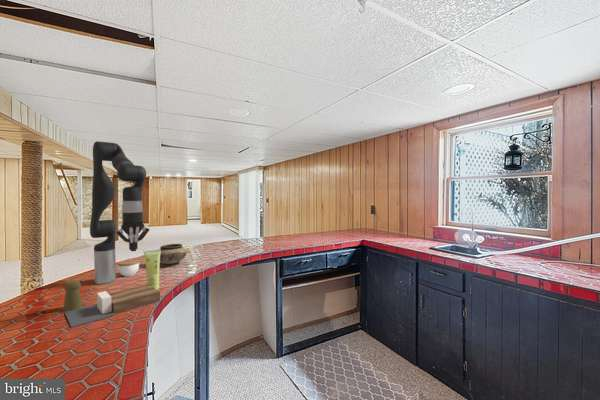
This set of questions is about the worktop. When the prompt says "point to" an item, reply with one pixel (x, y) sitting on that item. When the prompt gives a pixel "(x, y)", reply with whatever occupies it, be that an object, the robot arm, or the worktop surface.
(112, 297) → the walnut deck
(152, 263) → the tube
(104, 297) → the ivory card box
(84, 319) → the charcoal mat
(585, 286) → the worktop surface
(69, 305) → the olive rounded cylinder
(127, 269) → the lidded jar
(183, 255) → the ceramic bowl
